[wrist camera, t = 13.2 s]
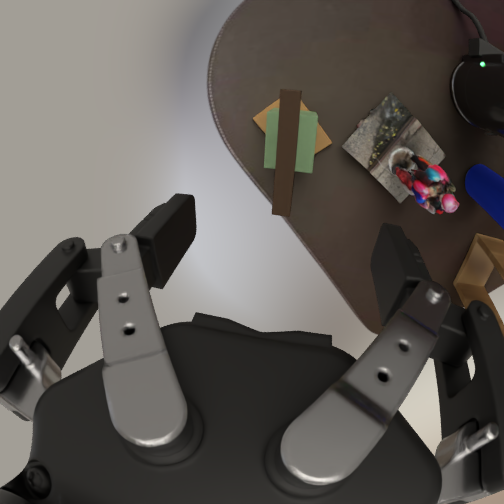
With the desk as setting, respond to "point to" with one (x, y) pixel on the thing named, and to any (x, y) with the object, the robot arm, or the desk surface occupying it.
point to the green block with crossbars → (289, 146)
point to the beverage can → (487, 191)
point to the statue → (402, 156)
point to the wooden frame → (480, 271)
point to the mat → (321, 136)
